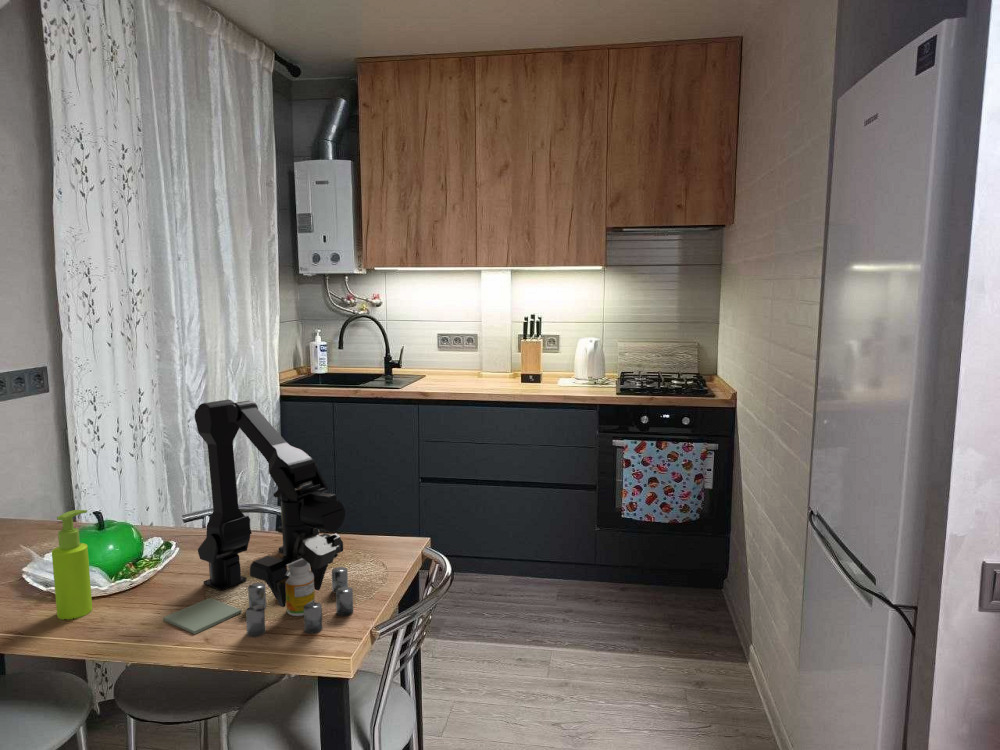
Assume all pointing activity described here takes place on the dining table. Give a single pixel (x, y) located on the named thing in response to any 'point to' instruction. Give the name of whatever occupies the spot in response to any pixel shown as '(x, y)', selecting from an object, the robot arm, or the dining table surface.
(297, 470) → the robot arm
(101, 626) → the dining table surface
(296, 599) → the supplement bottle
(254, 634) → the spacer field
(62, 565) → the soap dispenser
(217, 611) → the mat
